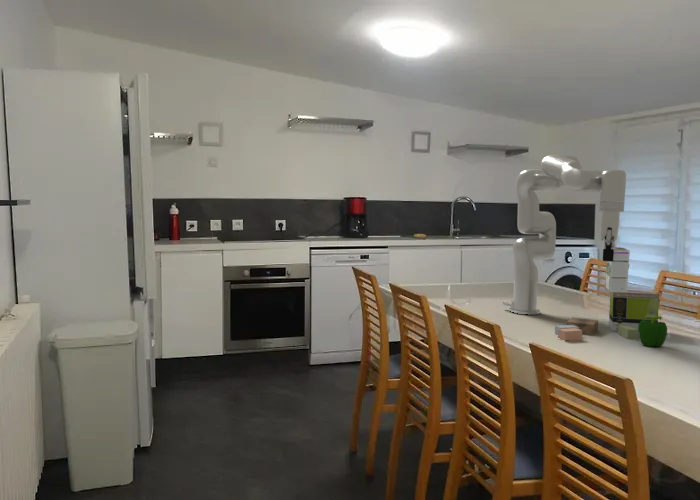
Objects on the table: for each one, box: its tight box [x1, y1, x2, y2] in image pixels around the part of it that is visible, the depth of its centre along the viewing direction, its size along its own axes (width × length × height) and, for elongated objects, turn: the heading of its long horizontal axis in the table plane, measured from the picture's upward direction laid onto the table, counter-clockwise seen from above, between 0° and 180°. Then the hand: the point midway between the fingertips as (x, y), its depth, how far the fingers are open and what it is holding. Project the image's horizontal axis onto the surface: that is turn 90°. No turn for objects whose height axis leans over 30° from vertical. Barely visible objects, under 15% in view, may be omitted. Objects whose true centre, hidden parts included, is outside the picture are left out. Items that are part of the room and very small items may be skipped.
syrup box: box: [604, 246, 631, 293], centre depth 190 cm, size 6×6×14 cm
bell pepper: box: [638, 315, 668, 348], centre depth 183 cm, size 8×8×10 cm
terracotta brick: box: [557, 328, 583, 341], centre depth 191 cm, size 7×4×4 cm, turn 108°
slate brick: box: [554, 324, 579, 336], centre depth 196 cm, size 7×4×4 cm, turn 100°
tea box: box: [608, 288, 660, 334], centre depth 205 cm, size 15×10×15 cm
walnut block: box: [566, 317, 599, 336], centre depth 204 cm, size 9×9×4 cm
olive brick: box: [617, 325, 639, 340], centre depth 196 cm, size 7×4×4 cm, turn 178°
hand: (608, 259), depth 190 cm, fingers closed on syrup box, 6 cm apart
